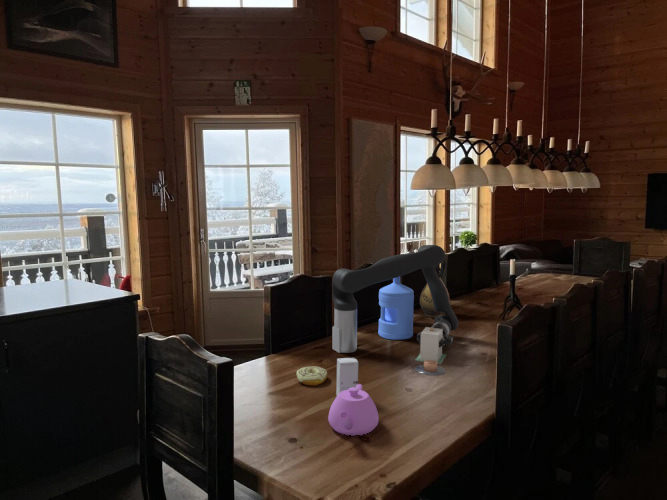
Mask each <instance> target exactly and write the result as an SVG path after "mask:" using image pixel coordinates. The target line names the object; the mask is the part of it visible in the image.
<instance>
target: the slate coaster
mask: <svg viewBox="0 0 667 500" xmlns="http://www.w3.org/2000/svg"><path fill="white" fill-rule="evenodd" d="M414 371H416V372H417V373H418V374H421V375H425V376H433V377H434V376H441V375H445V374H446V373H447V370H446V369H445V368H444V367H442V366H440V365H437V371H436V372H427V371H424V364H420V365H417V366H416V367H414Z"/></svg>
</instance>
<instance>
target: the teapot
mask: <svg viewBox="0 0 667 500" xmlns="http://www.w3.org/2000/svg"><path fill="white" fill-rule="evenodd" d="M327 419H328V423H329V425H330V426H331V428H332V429H333V430H334V431H335V432H337V433H338V434H342V435H344V434H345V435H344V436H349V435H351V436H350V437H352V436H354V437H356V436H355V435H360V436H364V435H363V434H365V435H367V433H368V434H370V433H372V431H374V430H375V428H376V427H377V426H378V424H379V421H380V420H379V413H378V409H377V406H376V404H375V402H374V401H373V399H372V397H371V396H370V395H369V393H368V392H366V391H365V390H363V385H362V384H361V383H358V385H357V386H356V388H355V387H352V388H349V389H348V390H344V391H342V392H340V393H339V394H338V396H337V395H336V397H335V399H334V400H333V402H332V403H331V406H330V409H329V412H328V417H327ZM369 432H370V433H369Z"/></svg>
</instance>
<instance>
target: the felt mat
mask: <svg viewBox="0 0 667 500" xmlns="http://www.w3.org/2000/svg"><path fill="white" fill-rule="evenodd" d="M446 357H447V354H446V353H442V356H441V357H440V359H439V360H438V362H437V365H438V364H439V365H442V363H443V362H444V360H445V359H446ZM414 360H415V361H417V362H419V361H420V362H423V363H424V361H425V360H420V353H419V354H418V355H417V357H416V358H415V359H414Z"/></svg>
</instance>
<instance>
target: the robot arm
mask: <svg viewBox="0 0 667 500" xmlns="http://www.w3.org/2000/svg"><path fill="white" fill-rule="evenodd" d="M445 258H446V252H445V250H444V248H443V247H441V246H440V245H436V244H424V245H421V246H419V248H418V249H417V252H411V253H400V254H396V255H395V254H394V255H391V256H388V257H384V258H382V259H379V260H377V261H376V262H375V263H373V264H372V265H371V266H369V267H365V268H362V269H357V270H353V269H352V270H351V269H349V268H339V269H337V270H336V271H335V272H334V274H333V275H332V281H331V287H332V288H331V289H332V290H331V291H332V302H333V304H334V306H333V307H334V308H333V309H334V313H333V314H334V316H333V317H334V320H333V322H334V325H333V326H332V327H331V328H332V331H331V332H332V337H331V338H332V350H333V351H336V352H337V353H339V354H341V353H343V354H344V353H345V354H348V353H354V352H356V351H357V349H358V348H357V346H358V302H357V299H356V298H355V296H354V293H356V292H358V291H361V290H362V289H365V288H368V287H370V286H372V285H376V284H379V283H382V282H386V281H390V280H393V279H394V278H397V277H400V278H401V277H402V276H405V275H407V274H410V273H413V272H415V271H417V270H421V271H422V273H423V276H424V279H425V281H426V284H428V286H429V289H430V293H431V297H432V301H433V305H434V309H435V310H436V311H437V312H444V313H443V315H442V316H437V317H434V320H433V324H432V325H431V327H433V328H438V329H443V335H442V338H441V340H440V341H439V347H441V346H442V347H444V346H445V345H446V346H451V344H452V343H453V340H454V336H453V335H449V334H450V332H451V331H455V330H457V329H458V327H459V319H458V317H457V316H456V314H455V312H454V310H453V309H452V305H451V303H449V299H448V294H447V291H448V290H447V291H446V289H445V287H446V286H445V287H444V285H445V284H444V285H443V283H444V282H443V283H442V282H441V280H440V279H439V277H438V275H437V273H436V270H435V266H437V265H439V264H441V263H442V262H443V260H445ZM421 332H422V331H418V332H417V335H416V342H418V343H419V345H421Z"/></svg>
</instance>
